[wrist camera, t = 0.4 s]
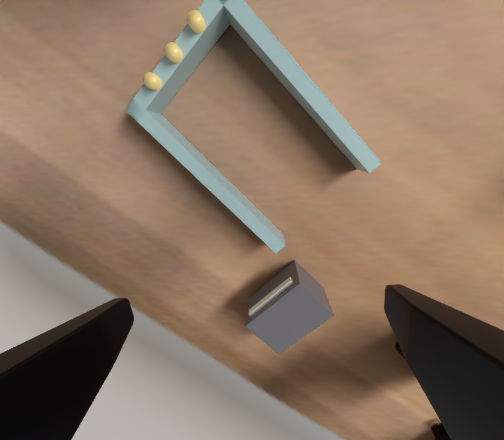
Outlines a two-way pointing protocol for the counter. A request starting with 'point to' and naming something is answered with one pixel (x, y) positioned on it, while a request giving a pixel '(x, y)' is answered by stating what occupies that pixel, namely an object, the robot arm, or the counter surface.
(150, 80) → the u-shaped coat rack
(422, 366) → the robot arm
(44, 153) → the counter surface
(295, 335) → the plug block
